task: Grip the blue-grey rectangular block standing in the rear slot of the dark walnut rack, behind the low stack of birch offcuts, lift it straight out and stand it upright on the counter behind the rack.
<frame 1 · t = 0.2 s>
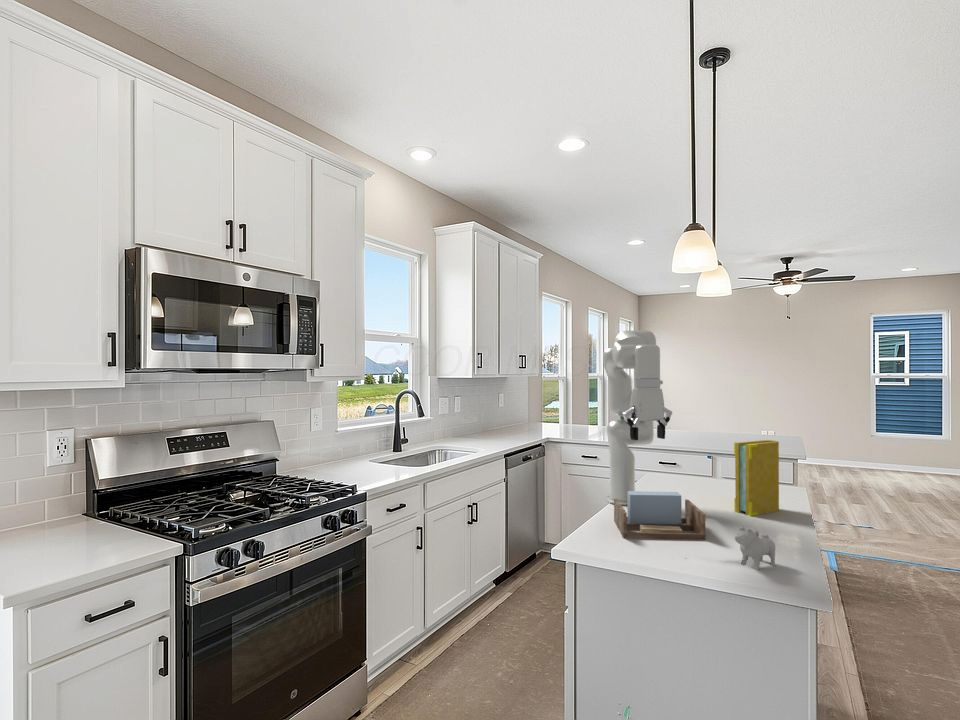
hand: (647, 439, 177), 30 cm above the counter, tool pointing down, fingers open, 9 cm apart
blue-grey rectangular block: (654, 530, 183), on the counter
offcut top: (660, 534, 174), point 1 cm above the counter, touching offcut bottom
grey animal figure: (755, 566, 151), on the counter
rack: (657, 534, 178), on the counter
book: (759, 511, 205), on the counter
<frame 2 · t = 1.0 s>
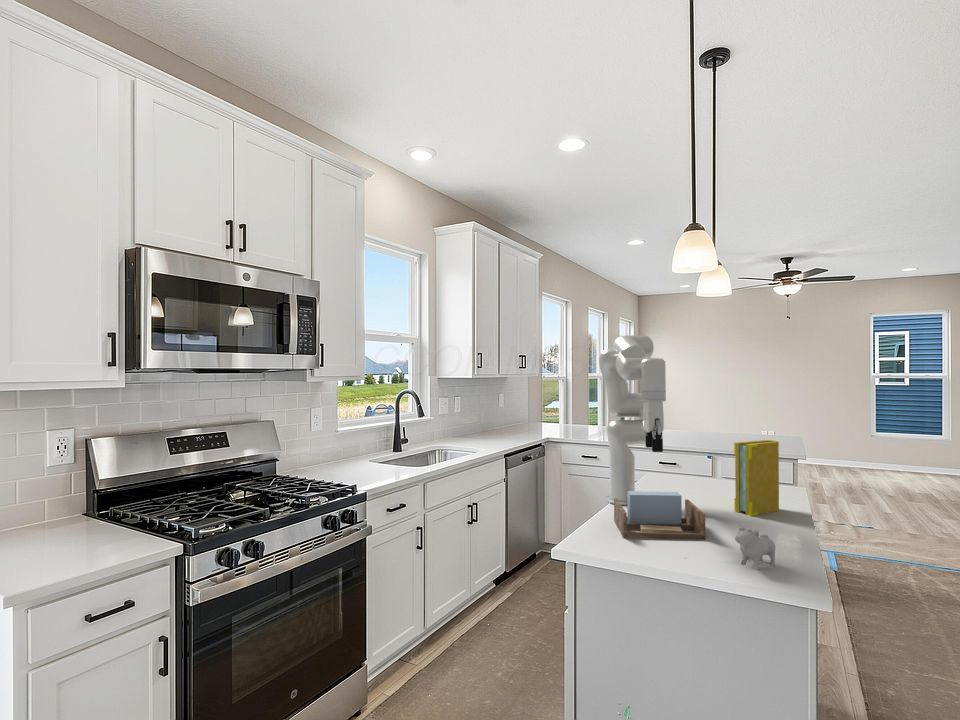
hand: (654, 449, 183), 26 cm above the counter, tool pointing down, fingers open, 9 cm apart
nothing on the counter moved.
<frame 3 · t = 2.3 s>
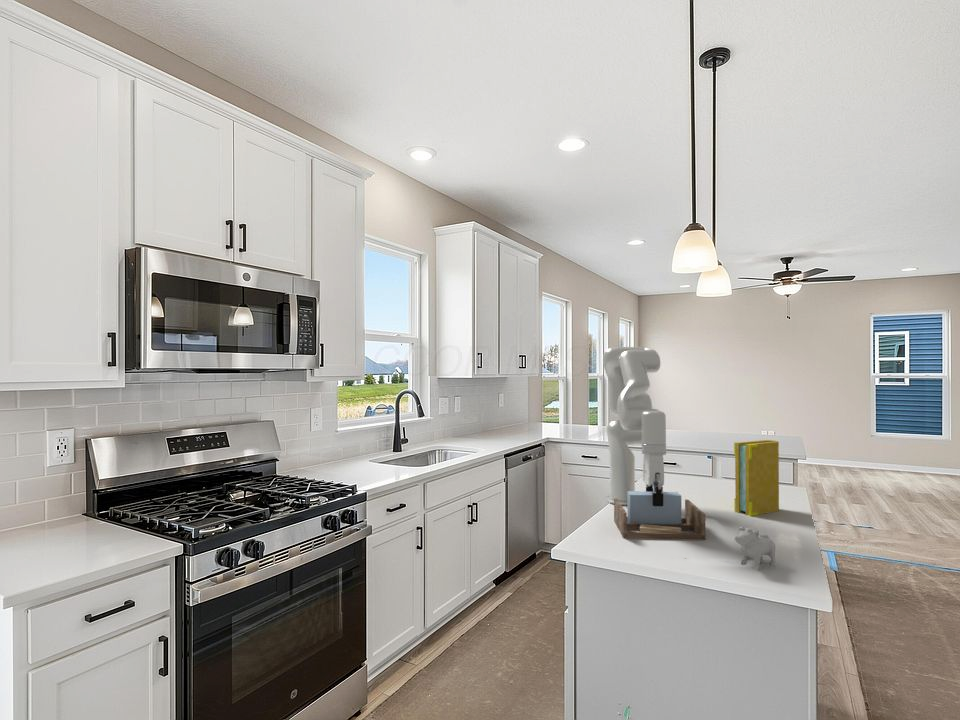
hand: (654, 502, 182), 9 cm above the counter, tool pointing down, fingers open, 9 cm apart
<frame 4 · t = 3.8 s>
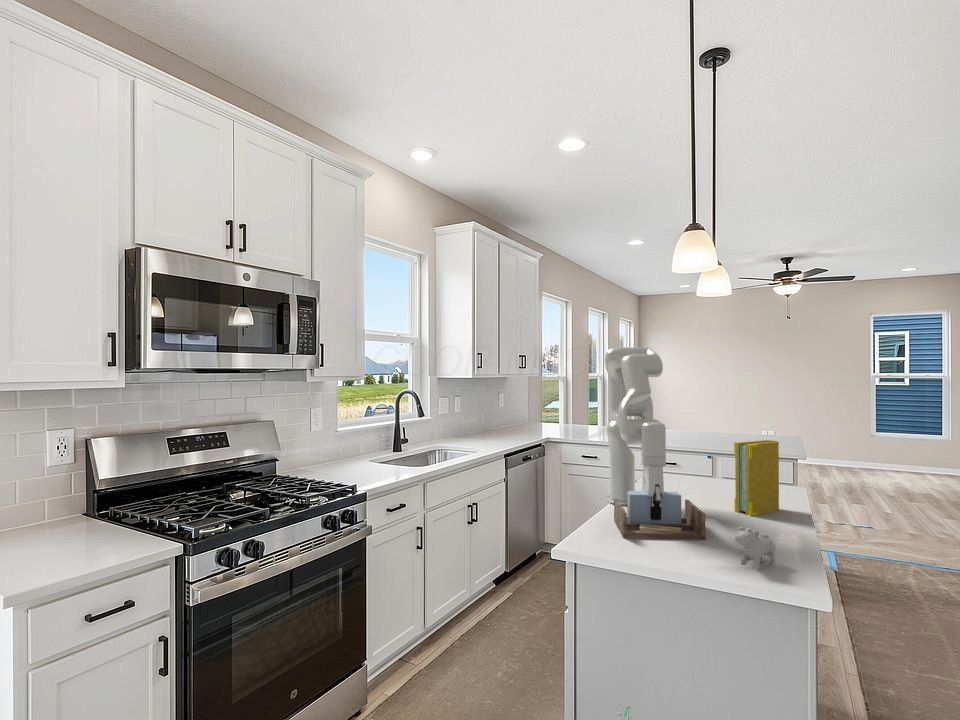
hand: (653, 516, 183), 4 cm above the counter, tool pointing down, fingers closed on blue-grey rectangular block, 5 cm apart
blue-grey rectangular block: (653, 530, 183), on the counter, touching gripper
offcut top: (660, 534, 174), point 1 cm above the counter, touching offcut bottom, rack
everything else where it was.
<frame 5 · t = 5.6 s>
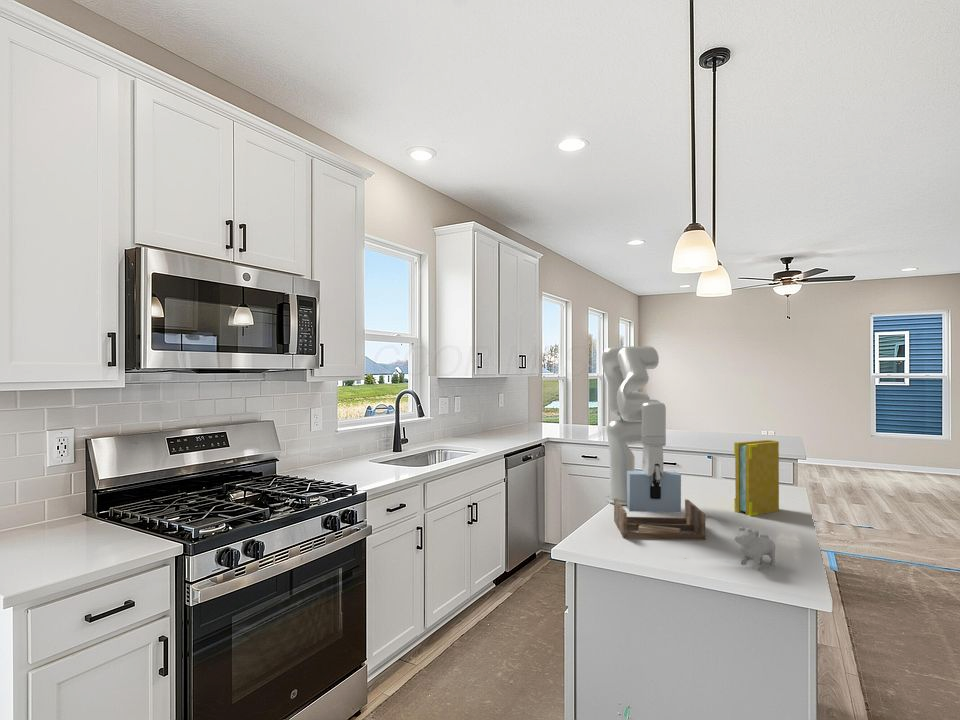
hand: (653, 495, 183), 11 cm above the counter, tool pointing down, fingers closed on blue-grey rectangular block, 5 cm apart
blue-grey rectangular block: (653, 509, 183), point 6 cm above the counter, touching gripper
offcut top: (659, 534, 174), point 1 cm above the counter, touching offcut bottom
everything else where it was.
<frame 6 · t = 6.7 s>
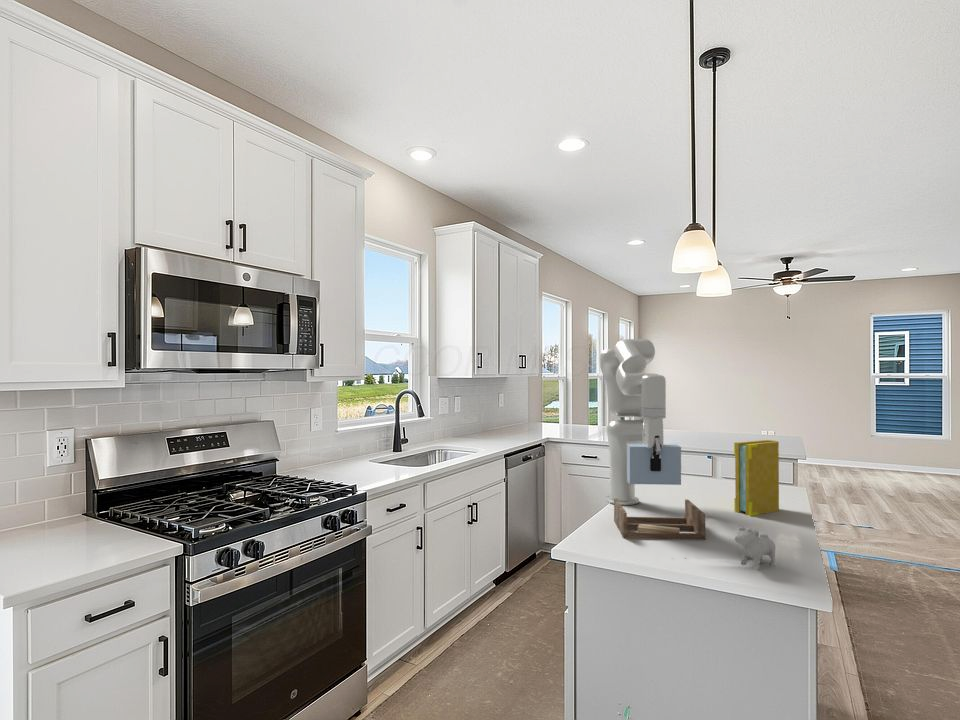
hand: (653, 468, 183), 20 cm above the counter, tool pointing down, fingers closed on blue-grey rectangular block, 5 cm apart
blue-grey rectangular block: (653, 482, 183), point 15 cm above the counter, touching gripper
everything else where it was.
when the fingers open (6 cm above the counter, at t = 12.1 s): blue-grey rectangular block drops 1 cm, on the counter.
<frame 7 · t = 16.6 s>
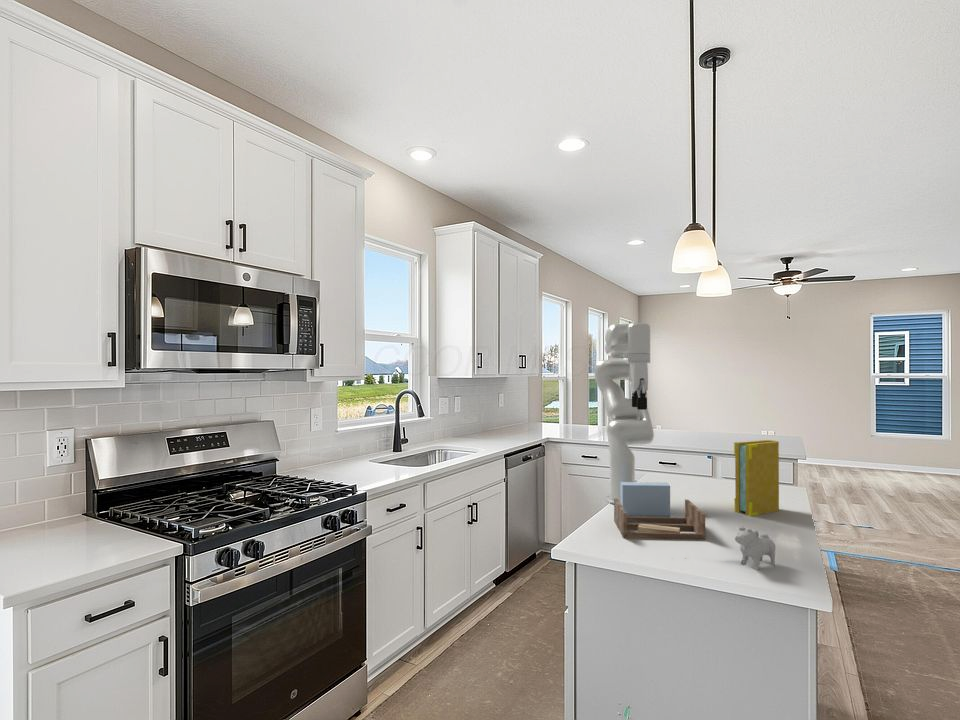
hand: (639, 408, 196), 38 cm above the counter, tool pointing down, fingers open, 9 cm apart
blue-grey rectangular block: (644, 518, 197), on the counter
at the end: blue-grey rectangular block inside the target area (0.1 cm from its centre), on the counter; blue-grey rectangular block tilted 0°; offcut top moved 1.0 cm from its start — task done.
